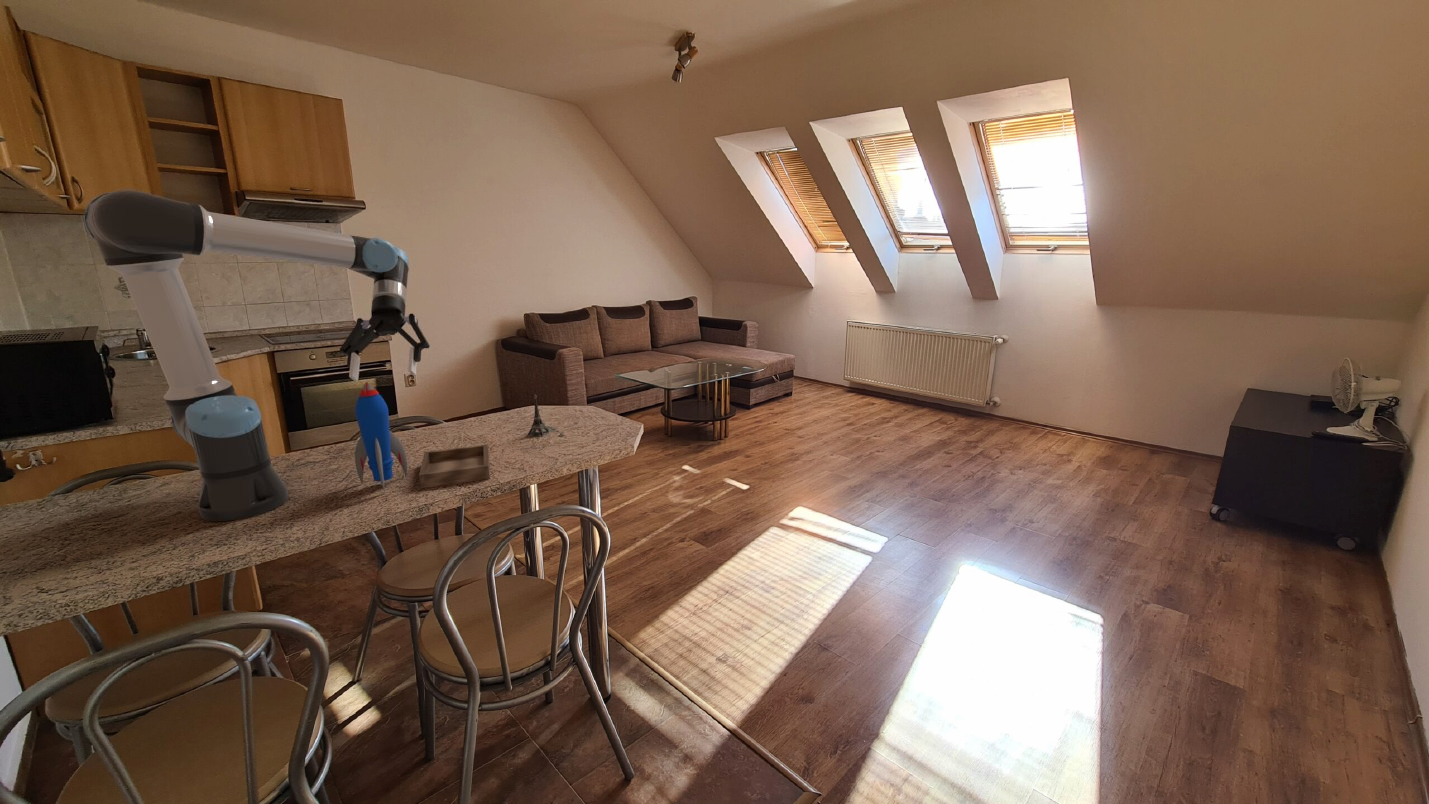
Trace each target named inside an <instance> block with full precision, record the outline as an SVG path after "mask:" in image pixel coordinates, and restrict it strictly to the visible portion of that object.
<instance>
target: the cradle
mask: <svg viewBox="0 0 1429 804" xmlns="http://www.w3.org/2000/svg"><path fill="white" fill-rule="evenodd" d="M490 472H491V471H490V455H489V446H488V443H486V444H479V445H471V446H464V447H462V446H461V447H454V448H446V449H437V450H429V451H424V453H423V457H422V461H421V465H420V470H419V473H418V477H419V484H420V489H427V488H433V487H434V488H435V487H440V486H447V485H453V484H454V485H455V484H462V482H463V483H468V482H469V483H470V482H475V481H483V480H489V479H491V475H490V474H491V473H490Z"/></svg>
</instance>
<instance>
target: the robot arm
mask: <svg viewBox="0 0 1429 804" xmlns="http://www.w3.org/2000/svg"><path fill="white" fill-rule="evenodd" d="M83 221H84V226H85V228H86V230H87V232H88V234H89V235H90V236H91V238H93V239H94V240H95V241H96V244H97V247H98V249H99V251H100V254H101V255H102V258H103V261H104V262H105V264H106V267H107V268H109V269H110V270H112V271H114V272H117V273H119V274H120V275H121V276H122V280H123V281H124V283H125V285H126V289H127V291H128V293H129V295H130V298H131V299H132V302H133V304H134V306H135V310H136V312H137V313H138V316H139V318H140V321H141V323H142V326H143V328H144V331H145V333H146V335H147V338H148V339H149V342H150V344H151V347H152V348H153V349H152V350H153V351H154V353H155V356H156V359H157V361H158V362H159V366H160V368H161V371H162V372H163V375H164V377H165V379H166V382H167V384H168V390H167V392H166V393H165V394H164V395H163V399H164V400H165V404H166V405H167V408H168V411H169V413H170V415H171V416H170V420H171V426H172V428H173V429H174V431H175V433H176V434H177V435H178V436H179V437H180V438H182V440H184V441H186V442H187V443H189V445H191V446H192V448H193V450H194V453H195V458H196V461H197V465H198V469H199V471H200V476H201V480H202V481H201V487H200V492H199V498H198V504H197V505H198V512H199V515H200V518H201V519H202V520H204V521H207V522H230V521H237V520H241V519H247V518H251V517H255V516H258V515H261V514H265V513H268V512H269V511H272V510H274V509H277V508H279V506H282V505H283V504H284V503H286V502H287V501H288V499H289V490H288V487H287V485H286V483H285V482H284V481H283V479H282V478H281V477H280V476H279V474H278V472H277V471H276V469H275V468H274V466H273V465H272V462H271V457H270V452H269V447H268V443H267V440H266V439H267V438H266V435H265V431H264V430H265V429H264V425H263V421H262V412H261V410H260V409H259V406H258V404H257V402H256V401H255V400H254V399H252V398H250V397H248V396H244V395H239V396H237V393H236V390H235V388H234V386H233V382H232V381H231V380H228V379H226V378H223V377H222V376H221V375H220V373H219V370H218V368H217V366H216V365H217V364H216V363H215V359H214V357H213V354H212V352H211V350H210V347H209V345H208V342H207V339H206V337H205V334H204V332H203V329H202V327H201V324H200V321H199V319H198V316H197V314H196V311H195V308H194V307H193V303H192V301H191V298H190V296H189V293H188V290H187V288H186V286H185V283H184V281H183V278H182V275H181V273H180V270H179V267H180V265H181V264H182V263H183V262H184V260H185V257H184V255H191V256H192V255H194V256H203V255H204V254H206V253H208V252H212V253H220V254H221V253H222V254H228V255H238V256H245V257H252V258H262V259H269V260H271V259H272V260H278V261H286V262H294V263H295V262H296V263H302V264H303V263H304V264H312V265H320V266H326V267H327V266H328V267H336V268H346V269H348V270H351V271H353V272H356V273H358V274H361V275H364V276H365V277H368V278H371V279H372V280H373V289H372V301H371V309H370V310H371V311H370V314H371V315H370V318H369V319H363V318H362V317H359V318H357V319H356V323H355V326H354V328H353V329H352V330H351V332H350V333H349V334H348V336H347V337H346V339H345V341H344V342H343V343H342V345H341V346H340V348H339V351H340V352H341V354H343V355H344V356H345V357H347V358H346V359H347V361H346V365H347V367H348V368H349V375H348V377H349V379H351V380H352V381H354V382H359V376H360V365H361V364H360V363H361V357H360V356H359V355H360V354H361V353H362V352H363V351H364V350H366V348H367V347H368V346H369V345H370V344H371V343H372V342H373V341H375V340H376V339H378V338H379V337H380V336H381V337H385V336H395V335H396V334H400V335H401V337H403V338H404V339H405V341H407V342H408V343H409V344H410V345H411V347H409V350H408V351H409V353H408V368H407V369H408V370H407V371H408V372H409V374H410V375H412V376H417V366H418V365H417V364H418V362H419V363H420V362H421V359H422V351H423V350H424V349H430V346H431V345H430V344H429V342H428V340H427V339H426V336H425V335H424V333H423V331H422V329H421V327H420V326H419V320H418V318H417V317H416V315H415V314H414V313H409V314H408V316H406V303H407V287H408V276H409V271H410V269H409V268H410V267H409V256H408V254H407V253H406V252H405V251H404V250H403V249H401V248H400V247H396V246H394V245H393V244H392V243H391V242H389V241H388V240H385V239H381V238H378V237H377V238H376V237H373V238H370V237H364V236H358V235H357V236H356V235H351V234H345V233H341V232H339V231H328V230H321V229H315V228H309V227H304V226H296V225H291V224H285V223H279V222H274V221H266V220H262V219H261V220H260V219H254V218H248V217H242V216H241V217H240V216H237V215H229V214H223V213H218V212H213V211H212V212H211V211H208V210H207V209H205V208H204V207H203V206H202V205H201V204H196V203H190V202H184V201H179V200H176V199H171V198H168V197H163V196H160V195H156V194H152V193H150V192H145V191H141V190H137V189H135V190H134V189H122V190H116V191H112V192H105V193H102V194H100V195H98V196H96V197H94V198H93V199H91V200H90V202H89V203H88V205H87V206H86V208H85V211H84V215H83ZM406 323H408V325H410V326H411V328H412V329H413V332H414V334H415V335H416V337H417V338H418V340H419V342H418V341H416V340H415V339H414V338H413V337H412V336H411V335H410V334H409V333H408V332H407V331H405V329H403V327H404V326H405V324H406ZM374 331H375V332H374Z"/></svg>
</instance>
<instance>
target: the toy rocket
mask: <svg viewBox="0 0 1429 804" xmlns="http://www.w3.org/2000/svg"><path fill="white" fill-rule="evenodd" d="M354 408H355V409H354V413H355V414H354V415H355V417H356V418H355V419H356V421H357V424H358V428H359V432H360V434H361V436H360V437H359V439H358V441H357V443H356V447H355V449H354V463H355V468H356V474H357V476H358V478H359V481H360V482H361V484H362V485H364V469H365V463H366V460H367V458H368V461H367V465H368V468H369V470H370V471H371V472H372V473H371V474H372V478H373V481H375V482H381V486H382V489H383V492H384V494H385V493H386V491H385V488H386V487H385V481H389V480H390V479H391V480H392V478H394V474H393V473H394V472H393V465H394V462H393V461H394V457H396V460H398V463H399V464H400V466H401V469H402V471H403V472H404V476H405V477H407V476H408V462H407V461H408V458H407V454H406V450H405V448H404V446H403V444H402V441H400V439H399V438H398V437H397V435H396V434H395V433H393V432H392V431H391V430H390V421H389V420H390V418H389V417H390V416H389V414H390V413H389V408H388V404H387V403H386V401H385V399H384V398H383V397H382V395H381V394H380V392H379V391H378V390H376V388H375V387H374V386H373V385H371V384H370V383H369V382H368V381H366V382H365V383H364V384H363V387H362V389H361V390H360V392H359V395H358V397H357V401H356V403H355V407H354ZM392 454H393V455H394V457H392Z"/></svg>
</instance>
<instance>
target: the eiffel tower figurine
mask: <svg viewBox="0 0 1429 804" xmlns="http://www.w3.org/2000/svg"><path fill="white" fill-rule="evenodd" d="M533 398H534V417H533V422H532V425H531V427H530V429H529V431H528V432H527V434H526V437H538V438H539V437H540V438H541V437H542V438H543V437H545V436H547V434H550V432H553V433H559V434H558V435H557V438H565V437H566V436H565V434H563V433H561V432H560V431H558V430H557V429H556V428H554V427H553V426H546V425H545V422H543V420H542V418H541V415H540V411H539V407H538V401H537V395H536V394H534V396H533ZM525 429H526V427H522V428H518V429H516V431H522V430H525Z"/></svg>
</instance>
